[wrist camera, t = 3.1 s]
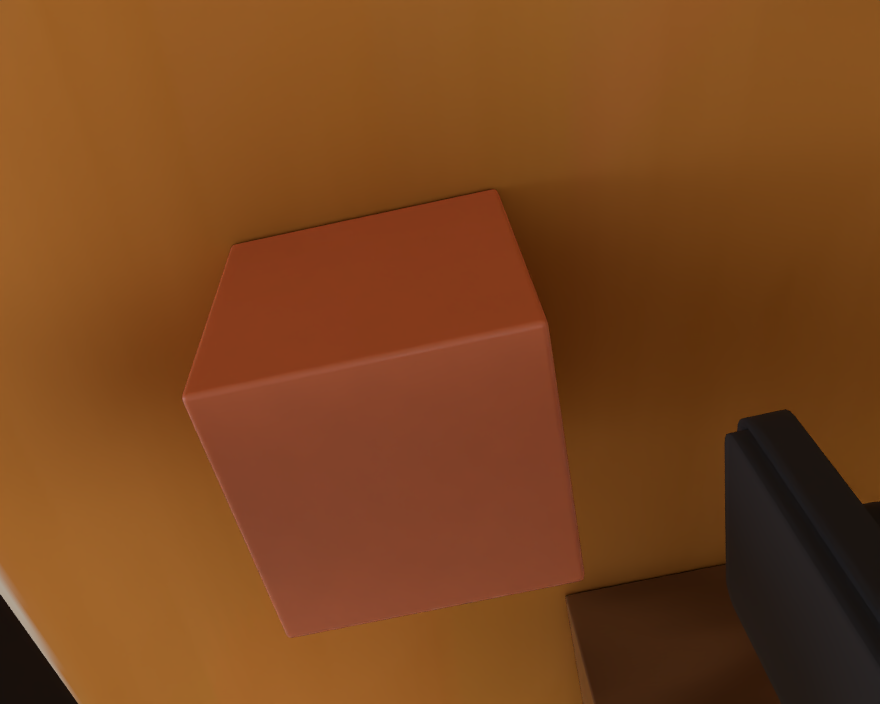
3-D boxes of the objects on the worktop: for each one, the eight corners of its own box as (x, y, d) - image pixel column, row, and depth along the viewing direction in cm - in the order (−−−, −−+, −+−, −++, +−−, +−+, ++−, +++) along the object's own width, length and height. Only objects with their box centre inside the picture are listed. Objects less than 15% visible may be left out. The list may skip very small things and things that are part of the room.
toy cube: (496, 186, 15) (548, 321, 11) (533, 405, 18) (586, 582, 13) (230, 243, 15) (177, 398, 11) (305, 451, 18) (286, 641, 14)
